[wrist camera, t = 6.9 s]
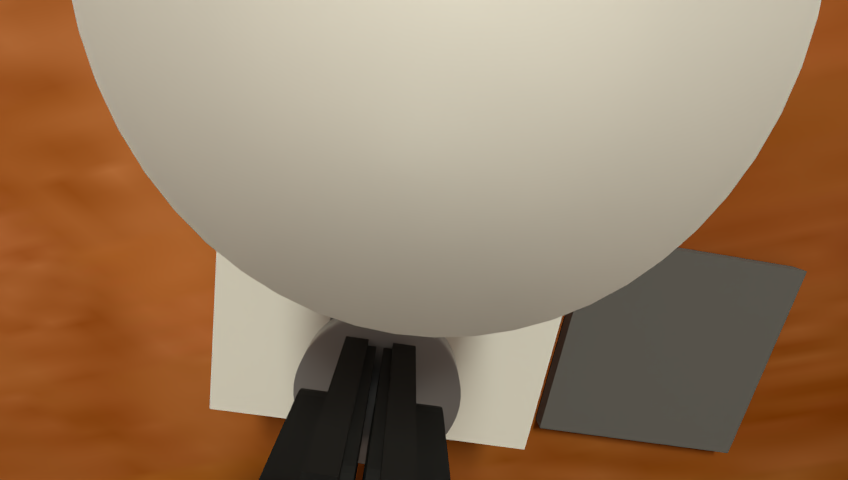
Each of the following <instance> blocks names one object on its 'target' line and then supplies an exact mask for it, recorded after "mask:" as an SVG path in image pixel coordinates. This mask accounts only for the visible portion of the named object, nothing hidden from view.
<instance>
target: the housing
mask: <svg viewBox="0 0 848 480" xmlns="http://www.w3.org/2000/svg"><path fill="white" fill-rule="evenodd" d="M561 318H562V316H561V317H558V318H556V319H553V320H550V321H546V322H543V323H539V324H535V325H532V326H528V327H524V328H521V329H517V330H513V331H506V332H500V333H493V334H486V335H480V336H467V337H445V338H446V340H447V341H448V343H449V344H450V346H451V348H452V351H453V353H454V356H455V359H456V364H457V369H458V375H459V381H460V387H461V400H460V406H459V410H458V413H457V417H456V419H455V421H454V423H453V425H452V427H451V428H450V430H449V431H448V433H447V434H446V439H448V440H455V441H463V442H471V443H478V444H486V445H494V446H502V447H509V448H517V449H525V446H526V442H527V439H528V435H529V432H530V428H531V424H532V421H533V417H534V414H535V410H536V407H537V403H538V400H539V396H540V393H541V389H542V385H543V382H544V378H545V375H546V371H547V368H548V364H549V361H550V357H551V354H552V350H553V346H554V343H555V339H556V336H557V332H558V329H559V325H560V322H561ZM332 319H333V318H331V317H328V316H325V315H322V314H319V313H316V312H314V311H312V310H310V309H308V308H306V307H304V306H302V305H300V304H297V303H295V302H293V301H291V300H289V299H287V298H285V297H283V296H281V295H279V294H277V293H275V292H274V291H272V290H271V289H269V288H267V287H266V286H264V285H263V284H261V283H259V282H258V281H256V280H255V279H253V278H252V277H250V276H248V275H247V274H245V273H244V272H242V271H241V270H239V269H238V268H237V267H236V266H235V265H233V264H232V263H231V262H230V261H228V260H227V259H226V258H225V257H223V256H222V255H221V254H220V253H218V252H217V253H216V276H215V298H214V321H213V344H212V367H211V389H210V409H216V410H224V411H232V412H240V413H247V414H255V415H263V416H270V417H278V418H287V416H288V413H289V411H290V409H291V407H292V404H293V402H294V396H293V387H294V380H295V375H296V372H297V369H298V366H299V364H300V362H301V360H302V358H303V356H304V354H305V352H306V350H307V348H308V346H309V344H310V342H311V341H312V339H313V338H314V336H315V335H316V334H317V332H318V331H319V330H320V329H321V328H322V327H323V326H324V325H325V324H327V323H328V322H329V321H330V320H332Z"/></svg>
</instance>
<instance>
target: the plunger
mask: <svg viewBox="0 0 848 480" xmlns="http://www.w3.org/2000/svg"><path fill="white" fill-rule="evenodd" d="M346 336H349V337H356V338H363V339H369V342H368V345H369V346H376V353H375V360H374V366H373V372H372V379H371V385H370V391H369V398H368V404H367V410H366V416H365V423H364V429H363V435H362V442H361V448H360V454H359V460H358V463H362V464H365V459H366V453H367V446H368V440H369V434H370V428H371V422H372V416H373V409H374V403H375V397H376V391H377V385H378V379H379V373H380V367H381V361H382V355H383V349H384V348H390V349H392V347H393V343H398V344H405V345H413V346H416V403H418V404H425V405H433V406H441V407H442V409H443V415H444V424H445V433H446V434H447V433H448V431H449V430H450V428H451V427H452V425H453V423H454V421H455V419H456V417H457V413H458V410H459V406H460V400H461V387H460V381H459V375H458V369H457V364H456V359H455V356H454V353H453V351H452V348H451V346H450V344H449V343H448V341H447V340H446V338H445V337H423V336H412V335H401V334H392V333H388V332H383V331H378V330H374V329H369V328H364V327H359V326H355V325H352V324H349V323H346V322H343V321H340V320H337V319H334V318H333V319H332V320H330V321H329V322H328V323H327V324H325V325H324V326H323V327H322V328H321V329H320V330H319V331H318V332H317V334H316V335H315V336H314V338H313V339H312V341H311V342H310V344H309V346H308V348H307V350H306V352H305V354H304V356H303V358H302V360H301V362H300V364H299V366H298V369H297V372H296V375H295V380H294V387H293V396H294V400H295V398H296V395H297V393H298V391H299V390H300V389H301V388H305V389H312V390H320V391H327V392H328V389H329V386H330V383H331V380H332V377H333V374H334V371H335V368H336V365H337V362H338V359H339V356H340V353H341V350H342V347H343V344H344V341H345V338H346Z"/></svg>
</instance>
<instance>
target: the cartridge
mask: <svg viewBox="0 0 848 480" xmlns="http://www.w3.org/2000/svg"><path fill="white" fill-rule="evenodd" d="M72 2H73V7H74V12H75V16H76V21H77V26H78V30H79V33H80V36H81V39H82V42H83V45H84V48H85V51H86V54H87V57H88V60H89V63H90V66H91V69H92V71H93V74H94V77H95V80H96V83H97V85H98V87H99V89H100V91H101V94H102V96H103V98H104V100H105V102H106V104H107V106H108V108H109V111H110V113H111V115H112V117H113V119H114V121H115V123H116V125H117V128H118V130H119V131H120V133H121V135H122V136H123V138H124V139H125V141H126V143H127V144H128V146H129V148H130V149H131V151H132V152H133V154H134V156H135V157H136V159H137V161H138V162H139V164H140V165H141V167H142V169H143V170H144V172H145V173H146V175H147V176H148V177H149V178H150V180H151V181H152V182H153V184H154V185H155V186H156V187H157V189H158V190H159V191H160V192H161V194H162V195H163V196H164V198H165V199H166V200H167V201H168V203H169V204H170V205H171V207H172V208H173V209H174V210H175V211H176V212H177V213H178V214H179V215H180V216H181V217H182V218H183V219H184V220H185V222H186V223H187V224H188V225H189V226H190V227H191V228H192V229H193V230H194V231H195V232H196V233H197V234H198V235H199V236H200V237H201V238H202V239H203V240H204V241H205V242H206V243H207V244H208V245H210V246H211V247H212V248H213V249H215V250H216V251H217V252H218V253H220V254H221V255H222V256H223V257H225V258H226V259H227V260H228V261H230V262H231V263H232V264H233V265H235V266H236V267H237V268H238V269H239V270H241V271H242V272H244V273H245V274H247V275H248V276H250V277H252V278H253V279H255V280H256V281H258V282H259V283H261V284H263V285H264V286H266V287H267V288H269V289H271V290H272V291H274V292H275V293H277V294H279V295H281V296H283V297H285V298H287V299H289V300H291V301H293V302H295V303H297V304H300V305H302V306H304V307H306V308H308V309H310V310H312V311H314V312H316V313H319V314H322V315H325V316H328V317H331V318H334V319H337V320H340V321H343V322H346V323H349V324H352V325H355V326H359V327H364V328H369V329H374V330H378V331H383V332H388V333H392V334H401V335H412V336H423V337H467V336H480V335H486V334H493V333H500V332H506V331H513V330H517V329H521V328H524V327H528V326H532V325H535V324H539V323H543V322H546V321H550V320H553V319H556V318H558V317H561V316H563V315H566V314H568V313H571V312H573V311H576V310H578V309H581V308H583V307H586V306H588V305H591V304H593V303H595V302H596V301H598V300H600V299H602V298H604V297H606V296H607V295H609V294H611V293H613V292H615V291H617V290H618V289H620V288H622V287H624V286H626V285H628V284H629V283H631V282H632V281H633V280H635V279H636V278H638V277H639V276H641V275H642V274H643V273H645V272H646V271H648V270H649V269H651V268H652V267H653V266H655V265H656V264H658V263H659V262H661V261H662V260H663V259H665V258H666V257H667V256H668V255H669V254H670V253H671V252H673V251H674V250H675V249H676V248H677V247H678V246H679V245H681V244H682V243H683V242H684V241H685V240H686V239H687V238H688V237H690V236H691V235H692V234H693V233H694V232H695V231H696V230H697V229H698V228H699V227H700V226H701V225H702V224H703V223H704V222H705V221H706V220H707V218H708V217H709V216H710V215H711V214H712V213H713V212H714V211H715V210H716V209H717V208H718V206H719V205H720V204H721V203H722V202H723V201H724V200H725V199H726V198H727V197H728V195H729V194H730V193H731V191H732V190H733V188H734V187H735V186H736V184H737V183H738V182H739V180H740V179H741V177H742V176H743V175H744V173H745V172H746V171H747V169H748V168H749V167H750V165H751V164H752V162H753V161H754V160H755V158H756V157H757V155H758V153H759V152H760V150H761V148H762V146H763V145H764V143H765V141H766V139H767V138H768V136H769V134H770V133H771V131H772V129H773V127H774V126H775V124H776V122H777V120H778V119H779V117H780V115H781V113H782V111H783V109H784V106H785V104H786V102H787V100H788V97H789V95H790V93H791V90H792V88H793V86H794V84H795V81H796V79H797V77H798V75H799V72H800V70H801V68H802V65H803V62H804V59H805V56H806V52H807V49H808V46H809V43H810V40H811V37H812V34H813V30H814V27H815V24H816V21H817V18H818V14H819V9H820V4H821V0H72Z"/></svg>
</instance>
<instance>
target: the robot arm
mask: <svg viewBox="0 0 848 480" xmlns="http://www.w3.org/2000/svg"><path fill="white" fill-rule="evenodd" d="M368 342H369V339H363V338H356V337H349V336H346V338H345V341H344V344H343V347H342V350H341V353H340V356H339V359H338V362H337V365H336V368H335V371H334V374H333V377H332V380H331V383H330V386H329V389H328V392H327V391H320V390H312V389H305V388H301V389H300V390H299V391H298V393H297V395H296V398H295V400H294V402H293V404H292V407H291V409H290V411H289V413H288V416H287V418H286V420H285V422H284V425H283V427H282V429H281V431H280V433H279V436H278V438H277V440H276V442H275V445H274V447H273V449H272V451H271V454H270V456H269V458H268V460H267V463H266V465H265V467H264V469H263V472H262V474H261V476H260V478H259V480H355V478H356V472H357V466H358V460H359V454H360V448H361V442H362V435H363V429H364V423H365V416H366V410H367V404H368V398H369V391H370V385H371V379H372V372H373V366H374V360H375V353H376V346H369V345H368ZM363 480H450V471H449V462H448V452H447V443H446V433H445V424H444V415H443V409H442V407H441V406H433V405H425V404H418V403H416V346H413V345H405V344H398V343H393V347H392V349H390V348H384V349H383V355H382V361H381V367H380V373H379V379H378V385H377V391H376V397H375V403H374V409H373V416H372V422H371V428H370V434H369V440H368V446H367V453H366V459H365V466H364V473H363Z"/></svg>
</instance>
